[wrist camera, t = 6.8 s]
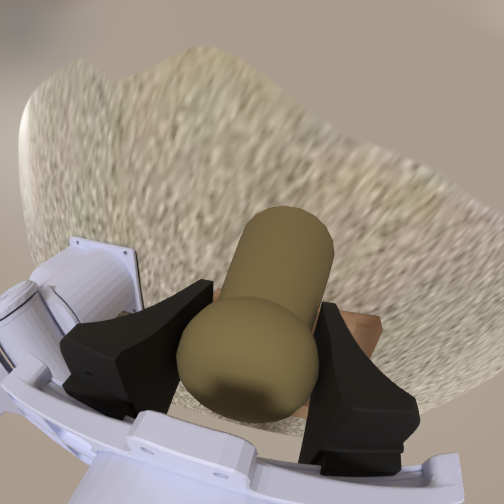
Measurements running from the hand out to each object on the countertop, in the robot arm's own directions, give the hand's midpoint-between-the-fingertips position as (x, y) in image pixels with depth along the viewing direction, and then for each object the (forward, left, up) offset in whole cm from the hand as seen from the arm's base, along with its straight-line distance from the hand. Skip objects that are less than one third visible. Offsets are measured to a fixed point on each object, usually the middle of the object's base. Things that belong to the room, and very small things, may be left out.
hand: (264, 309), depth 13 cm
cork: (0, 0, -6) cm, 6 cm away
